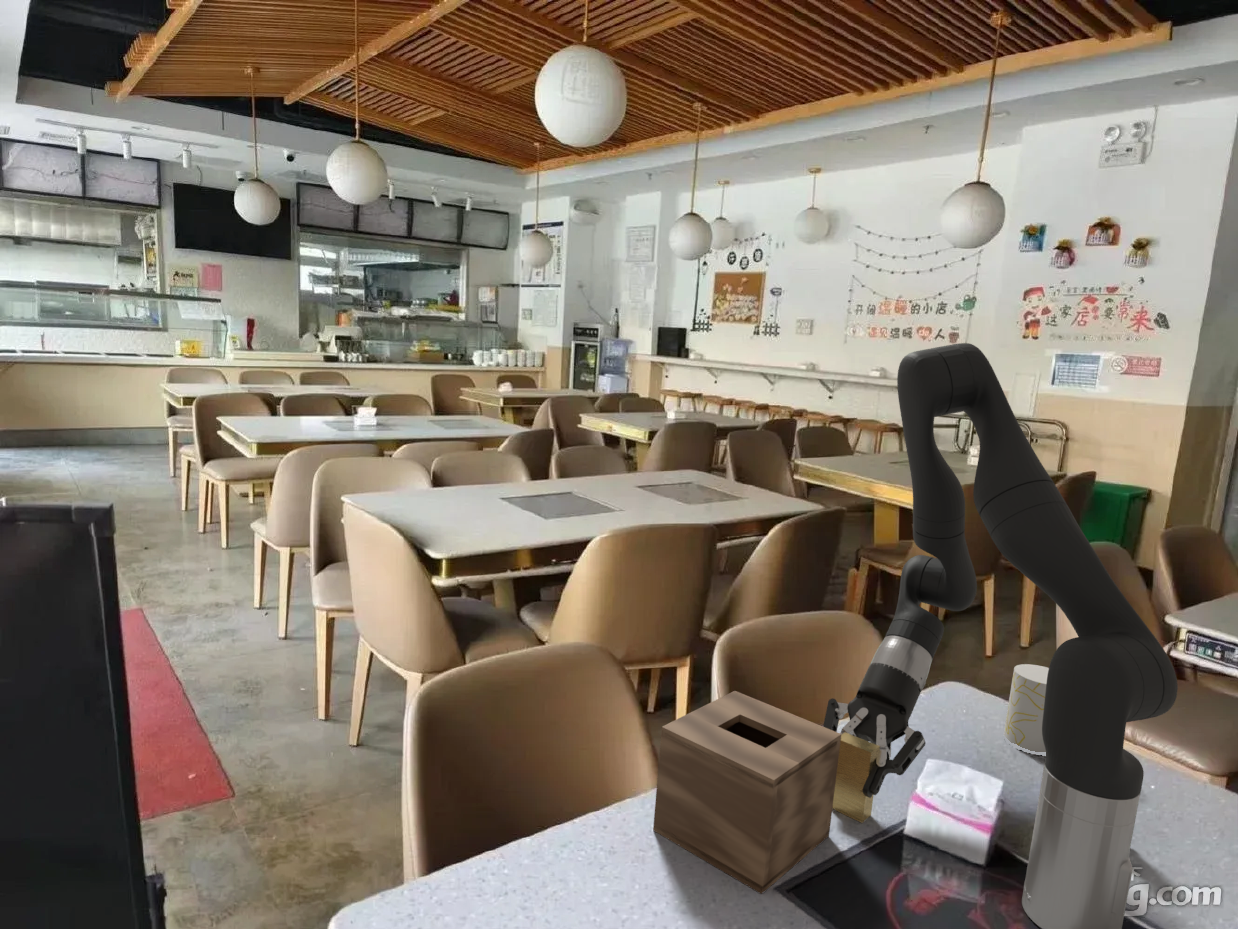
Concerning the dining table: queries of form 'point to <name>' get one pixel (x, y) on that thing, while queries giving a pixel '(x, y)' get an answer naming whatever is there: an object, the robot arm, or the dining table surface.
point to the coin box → (746, 787)
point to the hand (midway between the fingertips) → (847, 785)
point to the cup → (1027, 707)
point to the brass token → (854, 777)
